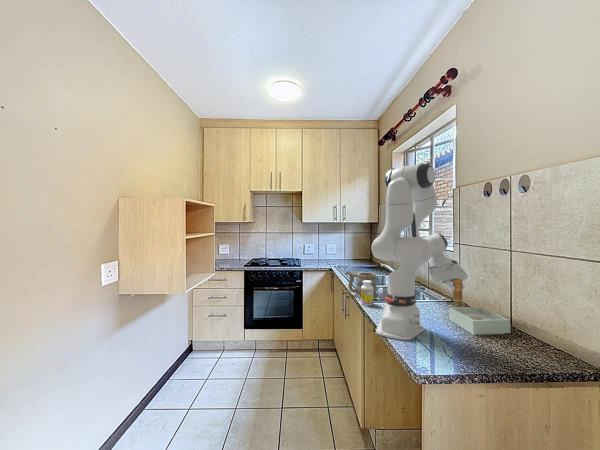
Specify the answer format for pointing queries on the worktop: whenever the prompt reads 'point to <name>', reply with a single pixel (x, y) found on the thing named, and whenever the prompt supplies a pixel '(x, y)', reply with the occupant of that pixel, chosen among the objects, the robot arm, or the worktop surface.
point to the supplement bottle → (367, 293)
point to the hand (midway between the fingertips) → (458, 288)
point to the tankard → (360, 279)
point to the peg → (457, 290)
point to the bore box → (479, 320)
